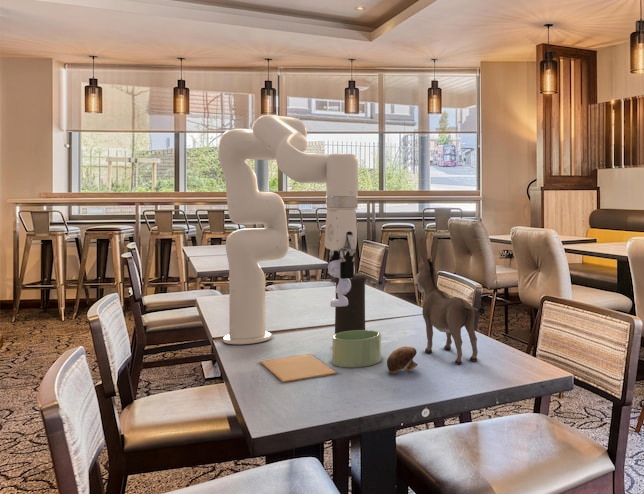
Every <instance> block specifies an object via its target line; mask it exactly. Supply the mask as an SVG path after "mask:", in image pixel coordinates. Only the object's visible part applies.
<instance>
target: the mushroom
mask: <svg viewBox="0 0 644 494" xmlns="http://www.w3.org/2000/svg"><path fill="white" fill-rule="evenodd" d="M416 355H417V349H416V348H415V347H413V346H400V347H398V348H396V349H394V350H393V351H392V352H391V353H390V354H389V355H388V358H387V360H386V367H387V370H388V372H389V373H391V374H397V373H399V372H401V371H405V372H410V371H411V370H413V369H415V368H417V366H418V364H419V363H416V362H415V361H414V358H415V357H416Z"/></svg>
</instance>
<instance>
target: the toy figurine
mask: <svg viewBox="0 0 644 494" xmlns="http://www.w3.org/2000/svg"><path fill="white" fill-rule="evenodd" d="M340 262H342V258H341V259H340V260H334V261H331V262H330V261H329V263H328V265H327V270H328V274H329V276H331V277H333V278H334V277H338V278H339V284H338V285H337V288H336V287H335V294H336V293H338V298H339V299H336V298H333V299H331V300H330V307H332V308H335V307H341V306H347V305H348V299H347V298H346V297H345V296H343V295H342V294H347V293H348V292H349V290H350V288H351V281H350V279H349V278H347V279H341V278H340ZM354 273H356V269H355V267H354ZM351 279H352V278H351Z"/></svg>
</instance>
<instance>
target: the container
mask: <svg viewBox="0 0 644 494" xmlns="http://www.w3.org/2000/svg"><path fill="white" fill-rule="evenodd" d="M349 279H350V281H351V288H350V290H349V292H348V293H347V294H342V295H343V296H345V297H346V298H347V299H348V305H347V306H341V307H334V308H335V309H334V310H335V311H334V334H336V333H339V332H344V331H351V330H366V282H367V275H366V274H365V273H357V272H355V273H354V277H353V278H352V279H351V278H349ZM333 281H334V283H335V289H336V288H337V285H338V284H339V278H338V277H333ZM335 299H339V298H338V293H335Z"/></svg>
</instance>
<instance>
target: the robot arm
mask: <svg viewBox="0 0 644 494" xmlns="http://www.w3.org/2000/svg"><path fill="white" fill-rule="evenodd" d="M307 137H308V130H307V127H306V125H305V123H304V122H303V121H302V120H301V119H299V118H297V117H293V116H283V115H275V114H265V115H261V116H259V117H258V118H257V119H255V120H254V122H253V124H252V129H246V128H235V129H230V130H226V131H225V132H224V133H223V134H222V135H221V136H220V139H219V141H218V145H217V155H218V156H217V157H218V161H219V164H220V168H221V170H222V173H223V177H224V181H225V182H224V183H225V191H226V203H227V212H228V216H229V219H230V221H231V222H232V223H234V224H237V225H263V228H262V227H261V228H259V227H256V228H255V227H254V228H241V229H237V230H234V231H232V232H231V233H229V235H228V236H227V237H226V239H225V252H226V257H227V258H226V259H227V263H228V273H229V274H228V276H229V277H228V279H229V281H228V282H229V284H228V285H229V291H228V292H229V295H228V296H229V297H228V299H229V303H228V304H229V309H228V311H229V312H228V315H229V316H228V317H229V320H228V321H229V322H228V324H229V325H228V326H229V327H228V329H229V330H228V331H229V332H228V333H229V334H227V335H225V336H223V343H225V344H228V345H250V344H257V343H263V342H267V341H269V340H271V338H272V333H271V332H268V331H266V275H265V273H264V270H263V269H262V267H261V266H260V264H259V263H258V262H266V261H267V262H269V261H275V260H277V261H278V260H280V259H283V258H284V257H285V256H286V255H287V254H288V251H289V246H290V239H289V230H288V220H287V211H286V205H285V202H284V200H283V198H282V197H281V195H280V194H279V193H276V192H273V191H260V190H259V187H258V186H259V185H258V178H257V174H256V172H255V170H254V169H253V168H252V166H251V165H250V164H249V163H248V162H247V161H246V160H256V161H258V160H259V161H275V162H276V165H277V168H278V170H279V171H280V172H281V173H283V174H284V175H285V176H286V177H287V178H289V179H290V180H292V181H294V182H297V183H300V184H326V185H325V192H326V193H325V210H327V211H326V215H325V216H326V217H325V227H324V228H325V230H324V247H325V249H327V250H328V252H329V255H328V256H329V257H328V258H329V263H330V262H331V261H334V260H340V259H342V262H340V278H341V279H347V278H353V277H354V268H355V255H356V252H357V251H356V250H357V244H358V243H357V242H358V229H357V228H358V227H357V213H356V210H358V208H359V207H358V202H359V200H358V197H359V196H358V195H359V194H358V193H359V191H358V190H359V186H358V185H359V183H358V182H359V159H358V156H357V155H356V154H353V153H346V152H345V153H341V152H339V153H337V152H335V153H318V152H306V150H307V146H308V142H307Z"/></svg>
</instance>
